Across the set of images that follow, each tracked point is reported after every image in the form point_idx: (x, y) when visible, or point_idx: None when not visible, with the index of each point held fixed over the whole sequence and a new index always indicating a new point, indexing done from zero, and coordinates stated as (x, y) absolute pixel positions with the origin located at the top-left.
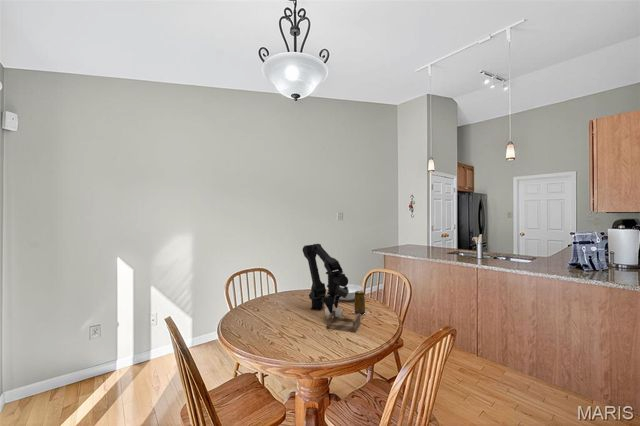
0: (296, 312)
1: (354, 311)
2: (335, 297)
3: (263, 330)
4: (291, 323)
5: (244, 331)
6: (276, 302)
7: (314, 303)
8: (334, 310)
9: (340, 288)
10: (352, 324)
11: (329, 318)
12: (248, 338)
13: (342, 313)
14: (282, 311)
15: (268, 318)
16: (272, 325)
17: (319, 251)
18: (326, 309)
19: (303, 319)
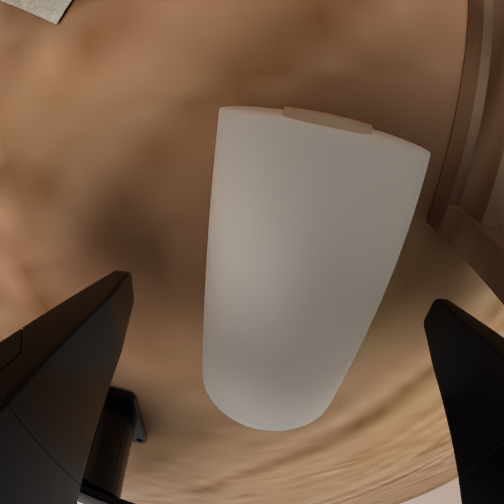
0: (233, 472)
1: (22, 2)
2: (37, 487)
3: (449, 461)
4: (411, 443)
5: (436, 479)
6: (135, 501)
7: (125, 467)
8: (384, 292)
9: None
10: None
11: None
12: None
13: (260, 109)
14: (235, 495)
15: (331, 497)
16: (412, 468)
17: None
18: (329, 402)
19: (361, 432)
